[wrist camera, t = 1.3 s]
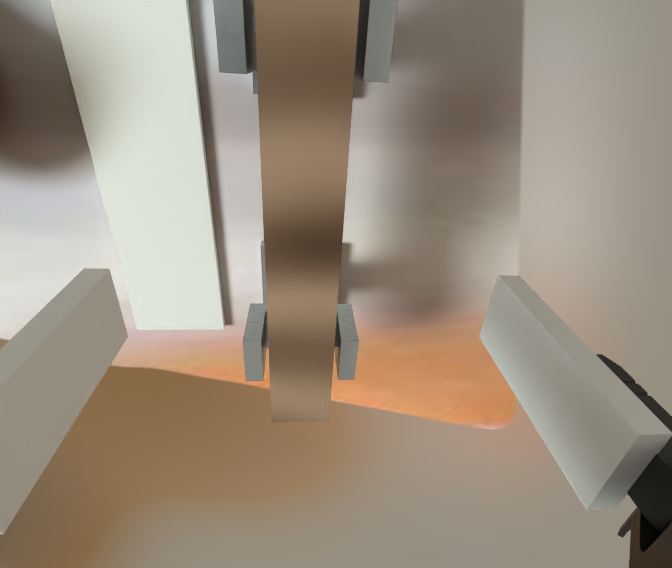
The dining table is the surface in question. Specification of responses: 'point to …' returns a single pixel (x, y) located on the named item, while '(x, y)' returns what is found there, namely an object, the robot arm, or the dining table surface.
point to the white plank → (148, 152)
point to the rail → (303, 189)
